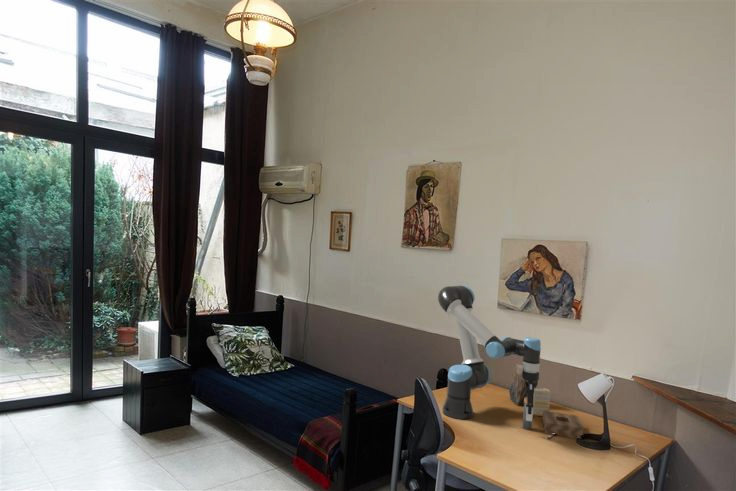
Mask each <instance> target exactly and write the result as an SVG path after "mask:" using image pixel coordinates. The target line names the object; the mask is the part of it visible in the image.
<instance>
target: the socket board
mask: <svg viewBox="0 0 736 491" xmlns="http://www.w3.org/2000/svg"><path fill="white" fill-rule="evenodd" d="M542 424H543V428H544V433H545V434H549V435H552V434H551V433H556V434H557V435H556V436H561V437H567V438H571V439H577V437H578V436H579V435H583V436H584V426H583V424H582V422H581V420H580V417H579V415H573V414H569V413H568V414H567V413H561V412H556V411H555V412H554V411H550V410H549V411H543V416H542Z"/></svg>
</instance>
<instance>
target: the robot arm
mask: <svg viewBox="0 0 736 491" xmlns="http://www.w3.org/2000/svg"><path fill="white" fill-rule="evenodd" d="M437 300H438V304H439V306H440V307H441V309H442V310H443V311H444V312H445V313H447V314H448V315H451V316H452V317H453V318H454V319H455V321H456V322H455V323H456V328H457V333H458V337H459V344H460V348H461V353H462V359H463V361H462V362H461V364H455V365H451V366H450V367H449V368H448V373H447V387H446V388H447V390H446V398H445V400H444V402H443V405H442V413H443V415H445V416H447V417H450V418H453V419H456V420H458V419H459V420H468V419H471V418H472V417H473V416H474V410H473V405H472V401H471V395H472V394H471V393H472V392H471V391H474V390H476V389H482V388H483V387H485V386H487V385H488V384H489V383H490V381H491V375H492V374H491V370H490V368H489V366H487V365H486V363H485V361H484V359H482V357H481V356H480V351H479V347H478V342H479V343H480V344H481V345H483V347H485V352H486V355H487V356H488V357H489V358H491V359H501V358H504V357H508V356H511V355H515V356H518V357H519V356H520V357H522V366H523V367H522V369H523V371H522V378H523V379H525V380H527V382H526V392H525V393H526V396H527V397H525V398H527V405H525V407H527V410H526V421H532V422H533V417H534V415H533V407H534V406H533V394H534V388H535V384H534V383H533V381H538V382H539V380H540V368H541V366H542V364H540V363H541V362H540V361H541V351H542V350H541V349H542V348H541V346H542V345H541V340H540V339H539V338H537V337H530V336H528V337H524V339H523V340H521V339H516V338H512V337H508V336H503V337H502V338H499V337H498V336H496V335H495V334H494V333H493V332H492V330H490V329H489V328H488V327H487V326H486V325H484V323H483V322H481V321H480V319H478V318H477V316H475V315H474V314H473V313H472V311H473V309H474V308H473V304H474V302H475V294H474V291H473V289H471V288H469V287H468V286H466V285H454V286H453V285H451V286H450V285H449V286H448V285H447V286H444V287H442V288H441V290H440V291H439V292H438V296H437Z"/></svg>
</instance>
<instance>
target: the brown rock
mask: <svg viewBox="0 0 736 491" xmlns="http://www.w3.org/2000/svg"><path fill="white" fill-rule="evenodd" d="M522 367H523V364H522V365H521V364H519V363H515V364H514V369H513V370H512V372H511V383H510V385H509V387H508V390H509V391H508V392H509V400H510V401H511V402H513V404H514V405H515V406H516V407H524V398H525V397H527V396H526V393H525V392H526V382H527V380H525V379H523V378H522V371H523V369H522ZM538 382H539V380H538V381H533V383H534V384H535V388H538V384H539V383H538Z"/></svg>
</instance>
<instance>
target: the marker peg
mask: <svg viewBox="0 0 736 491" xmlns="http://www.w3.org/2000/svg"><path fill="white" fill-rule="evenodd" d="M533 401H534V400H533ZM525 405H527V398H524V406H523V414H522V426H521V427H522V428H521V429H523V430H524V431H525V430H526V431H532V427H533V426H532V425H533V424H532V423H533V420H532V421H526V410H527V407H525Z"/></svg>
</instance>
